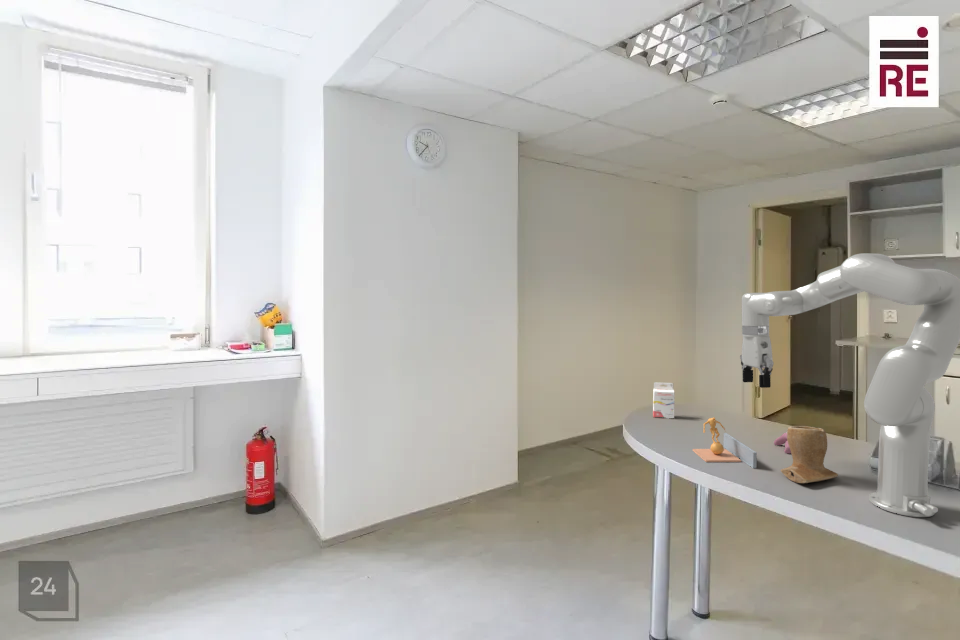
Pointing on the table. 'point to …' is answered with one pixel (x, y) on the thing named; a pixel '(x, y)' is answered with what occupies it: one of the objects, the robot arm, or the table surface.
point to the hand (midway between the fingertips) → (756, 384)
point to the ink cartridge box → (663, 400)
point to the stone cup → (807, 455)
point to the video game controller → (783, 442)
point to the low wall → (740, 450)
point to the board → (716, 456)
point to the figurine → (716, 446)
